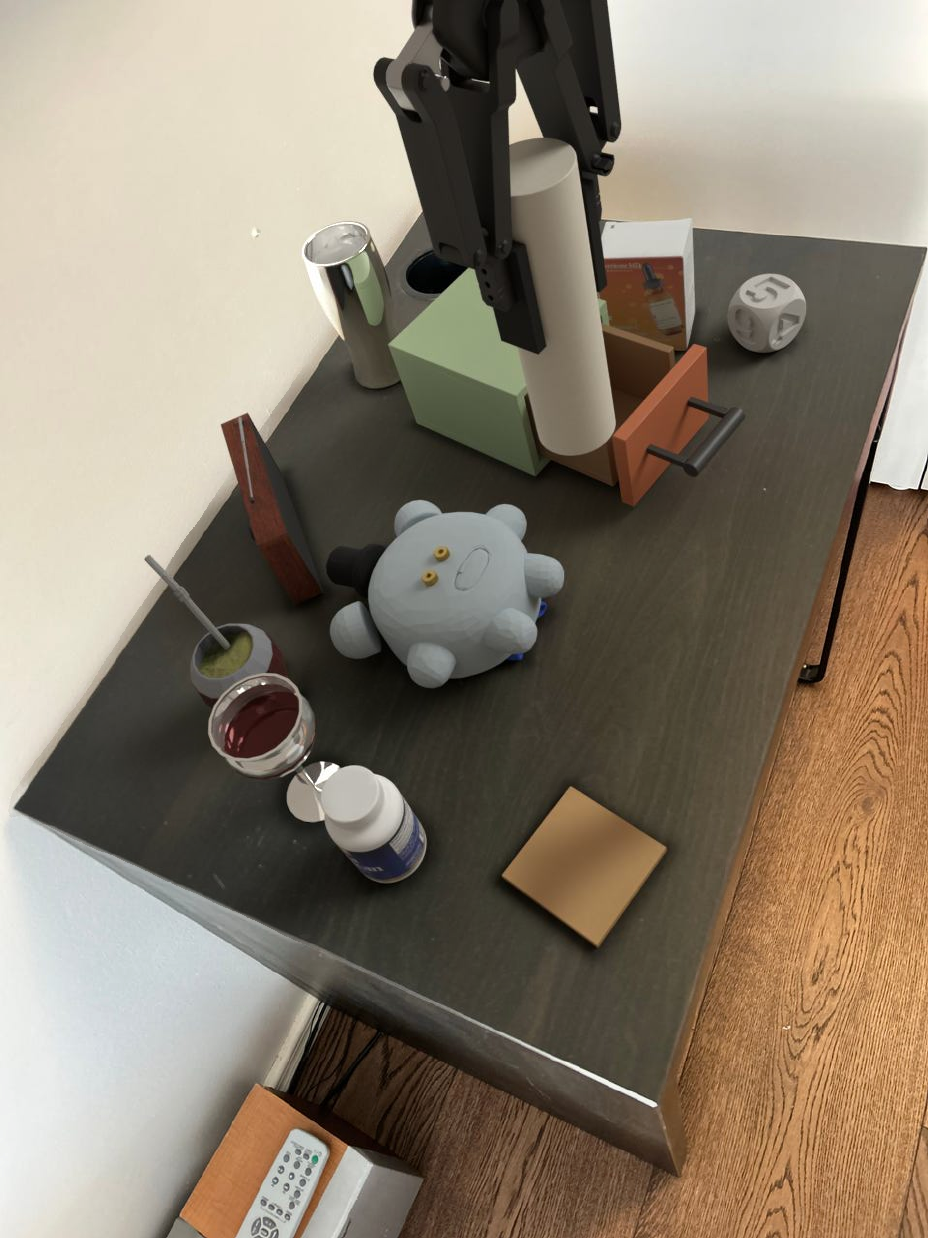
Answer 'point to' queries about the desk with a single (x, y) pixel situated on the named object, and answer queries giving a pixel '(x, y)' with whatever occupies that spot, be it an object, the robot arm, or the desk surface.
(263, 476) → the radio
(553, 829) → the coaster
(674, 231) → the small box
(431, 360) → the cabinet
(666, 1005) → the desk surface
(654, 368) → the drawer
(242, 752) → the wineglass
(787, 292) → the die
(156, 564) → the mate gourd
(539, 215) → the canister
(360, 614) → the figurine
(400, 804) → the pill bottle
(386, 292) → the metal tumbler
